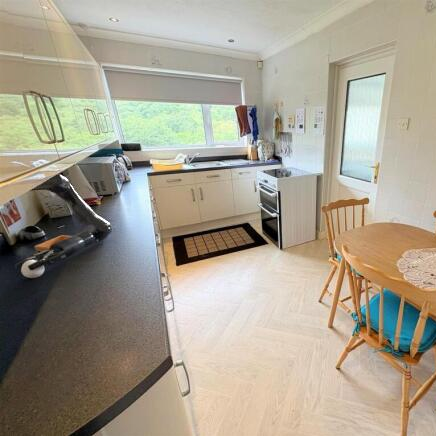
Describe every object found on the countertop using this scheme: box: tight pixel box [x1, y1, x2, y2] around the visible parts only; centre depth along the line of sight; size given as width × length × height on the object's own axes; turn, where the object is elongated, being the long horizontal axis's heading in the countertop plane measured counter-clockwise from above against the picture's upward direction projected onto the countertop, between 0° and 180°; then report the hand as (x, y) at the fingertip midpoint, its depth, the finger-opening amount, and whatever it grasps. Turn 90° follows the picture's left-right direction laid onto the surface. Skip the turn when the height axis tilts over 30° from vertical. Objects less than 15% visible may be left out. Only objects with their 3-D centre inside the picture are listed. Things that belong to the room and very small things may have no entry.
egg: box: [20, 260, 45, 279], centre depth 91 cm, size 6×6×8 cm
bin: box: [34, 234, 72, 252], centre depth 114 cm, size 12×12×4 cm
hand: (22, 267), depth 88 cm, fingers closed on egg, 5 cm apart
